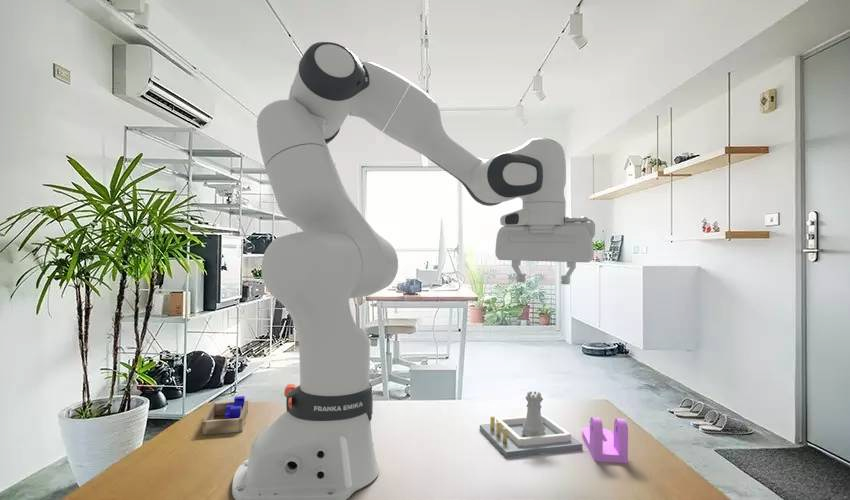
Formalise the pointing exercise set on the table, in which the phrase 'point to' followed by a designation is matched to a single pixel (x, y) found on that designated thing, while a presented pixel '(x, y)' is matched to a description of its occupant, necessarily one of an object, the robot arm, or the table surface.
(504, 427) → the board
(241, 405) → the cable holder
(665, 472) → the table surface
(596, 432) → the bracket
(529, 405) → the rook chess piece
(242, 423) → the box
